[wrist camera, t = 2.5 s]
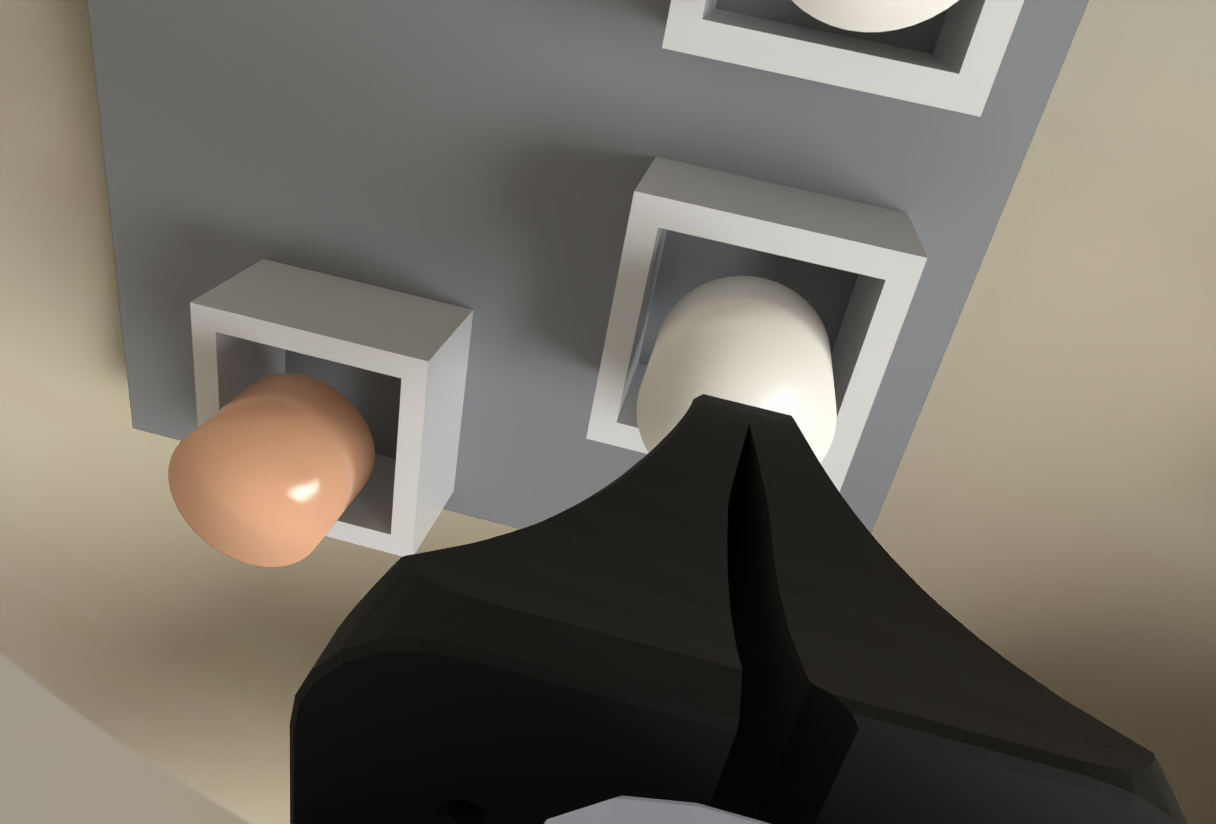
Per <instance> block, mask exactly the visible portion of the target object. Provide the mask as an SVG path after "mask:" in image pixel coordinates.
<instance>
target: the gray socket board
mask: <svg viewBox="0 0 1216 824" xmlns="http://www.w3.org/2000/svg"><path fill="white" fill-rule="evenodd" d="M1088 1H1089V0H959V1H957V2H956V3H955V4H953V5H952V6H950V7H949V8H948V9H946V10H944V11H942V12H941V13H939V14H937V15H935V16H934V17H932V18H930V19H927V20H925V21H923V22H920V23H918V24H915V25H912V26H909V27H905V28H901V29H898V30H892V31H884V32H858V31H850V30H845V29H841V28H838V27H834V26H831V25H829V24H826V23H824V22H822V21H820V20H818V19H816V18H814V17H812V16H811V15H809V14H808V13H806V12H805V11H803V10H802V9H801V8H799V7H798V6H797V5H796V4H795V3H794V2H793V1H791V0H87V3H88V13H89V22H90V31H91V41H92V50H93V60H94V69H95V78H96V88H97V97H98V106H99V116H100V125H101V135H102V144H103V153H104V163H105V172H106V182H107V191H108V200H109V210H110V219H111V228H112V238H113V247H114V257H115V266H116V275H117V285H118V294H119V304H120V313H121V322H122V332H123V341H124V350H125V360H126V369H127V379H128V388H129V397H130V407H131V416H132V426H133V428H135V429H138V430H142V431H146V432H150V433H154V434H158V435H162V436H165V437H169V438H173V439H177V440H181V441H182V440H184V439H185V438H186V437H187V436H188V435H190V434H191V433H192V432H193V431H195V430H196V429H197V428H198V427H200V426H201V425H202V424H203V423H204V422H206V421H207V420H208V419H209V418H211V417H212V416H213V415H214V414H216V413H217V412H218V411H219V410H220V409H222V408H223V407H224V406H225V405H227V404H228V403H229V402H230V401H232V400H233V399H234V398H235V397H237V396H238V395H239V394H240V393H241V392H243V391H244V390H245V389H246V388H248V387H249V386H250V385H251V384H253V383H254V382H255V381H257V380H259V379H261V378H263V377H266V376H268V375H272V374H277V373H295V374H301V375H306V376H309V377H312V378H315V379H317V380H320V381H322V382H324V383H326V384H328V385H329V386H331V387H333V388H334V389H336V390H337V391H339V392H340V393H341V394H343V395H344V396H345V397H346V398H347V399H348V400H349V401H350V402H351V403H352V404H353V405H354V406H355V407H356V408H357V410H358V411H359V412H360V414H361V415H362V417H363V418H364V420H365V422H366V423H367V425H368V428H369V430H370V432H371V435H372V438H373V442H374V448H375V462H374V468H373V471H372V474H371V476H370V478H369V480H368V482H367V483H366V484H365V486H364V487H363V488H362V490H361V491H360V492H359V493H358V495H357V496H356V497H355V498H354V500H353V501H352V502H351V503H350V505H349V506H348V507H347V509H346V510H345V511H344V512H343V514H342V515H341V516H340V517H339V519H338V520H337V521H336V522H335V524H334V525H333V526H332V528H331V529H330V530H329V531H328V533H327V534H326V535H325V536H327V537H331V538H335V539H338V540H342V541H346V542H350V543H354V544H357V545H361V546H365V547H369V548H372V549H376V550H380V551H384V552H387V553H391V554H395V555H399V556H405V555H413V554H415V553H416V551H417V550H418V548H419V546H420V545H421V543H422V541H423V540H424V538H425V537H426V535H427V533H428V532H429V530H430V529H431V527H432V525H433V524H434V522H435V520H436V519H437V517H438V516H439V514H440V512H441V511H442V509H446V510H450V511H453V512H457V513H461V514H465V515H469V516H473V517H477V518H480V519H484V520H488V521H492V522H496V523H500V524H503V525H507V526H511V527H515V528H519V529H522V528H525V527H528V526H531V525H534V524H536V523H539V522H542V521H544V520H546V519H548V518H550V517H552V516H555V515H557V514H559V513H561V512H563V511H565V510H567V509H569V508H570V507H572V506H574V505H576V504H578V503H580V502H582V501H583V500H585V499H587V498H588V497H590V496H592V495H593V494H595V493H597V492H598V491H600V490H601V489H603V488H604V487H606V486H607V485H609V484H610V483H612V482H613V481H614V480H616V479H617V478H619V477H620V476H621V475H623V474H624V473H625V472H626V471H628V470H629V469H630V468H631V467H632V466H634V465H635V464H636V463H637V462H639V461H640V460H641V459H642V458H643V457H645V456H646V455H647V454H648V451H647V449H646V447H645V445H644V443H643V441H642V438H641V435H640V432H639V428H638V422H637V400H638V394H639V390H640V387H641V384H642V381H643V378H644V375H645V372H646V369H647V366H648V363H649V360H650V357H651V354H652V351H653V348H654V345H655V342H656V339H657V337H658V334H659V331H660V328H661V326H662V324H663V321H664V319H665V318H666V316H667V315H668V313H669V311H670V310H671V309H672V308H673V306H674V305H675V304H676V303H677V302H678V301H679V300H680V299H681V298H682V297H683V296H685V295H686V294H687V293H689V292H690V291H692V290H693V289H695V288H696V287H698V286H700V285H702V284H704V283H707V282H710V281H713V280H715V279H719V278H724V277H730V276H754V277H760V278H765V279H769V280H772V281H775V282H778V283H780V284H782V285H784V286H787V287H788V288H790V289H792V290H793V291H795V292H796V293H798V294H799V295H800V296H801V297H803V298H804V299H805V300H806V301H807V302H808V303H809V304H810V305H811V306H812V307H813V308H814V310H815V311H816V313H817V314H818V315H819V317H820V319H821V321H822V323H823V325H824V326H825V329H826V332H827V335H828V338H829V344H830V350H831V360H832V370H833V379H834V389H835V399H836V412H837V421H836V430H835V434H834V437H833V441H832V444H831V446H830V448H829V450H828V453H827V454H826V456H825V457H824V459H823V461H822V462H821V465H822V467H823V468H824V470H825V471H826V473H827V474H828V476H829V477H830V479H831V480H832V482H833V483H834V485H835V486H836V488H837V489H838V491H839V492H840V494H841V495H842V497H843V498H844V499H845V501H846V502H847V503H848V505H849V506H850V508H851V509H852V510H853V512H854V513H855V514H856V515H857V517H858V518H859V519H860V520H861V522H862V523H863V524H864V526H865V527H866V528H867V529H868V531H869V532H870V533H871V532H872V529H873V527H874V525H875V522H876V520H877V517H878V515H879V512H880V510H881V507H882V505H883V503H884V500H885V498H886V495H887V493H888V490H889V488H890V485H891V483H892V481H893V478H894V476H895V473H896V471H897V468H898V466H899V463H900V461H901V459H902V456H903V454H904V451H905V449H906V446H907V444H908V441H909V439H910V437H911V434H912V432H913V429H914V427H915V424H916V422H917V419H918V417H919V415H920V412H921V410H922V407H923V405H924V402H925V400H926V397H927V395H928V393H929V390H930V388H931V385H932V383H933V380H934V378H935V375H936V373H937V371H938V368H939V366H940V363H941V361H942V358H943V356H944V353H945V351H946V349H947V346H948V344H949V341H950V339H951V336H952V334H953V331H954V329H955V327H956V324H957V322H958V319H959V317H960V314H961V312H962V309H963V307H964V304H965V302H966V300H967V297H968V295H969V292H970V290H971V287H972V285H973V282H974V280H975V278H976V275H977V273H978V270H979V268H980V265H981V263H982V260H983V258H984V256H985V253H986V251H987V248H988V246H989V243H990V241H991V238H992V236H993V234H994V231H995V229H996V226H997V224H998V221H999V219H1000V216H1001V214H1002V212H1003V209H1004V207H1005V204H1006V202H1007V199H1008V197H1009V194H1010V192H1011V190H1012V187H1013V185H1014V182H1015V180H1016V177H1017V175H1018V172H1019V170H1020V168H1021V165H1022V163H1023V160H1024V158H1025V155H1026V153H1027V150H1028V148H1029V146H1030V143H1031V141H1032V138H1033V136H1034V133H1035V131H1036V128H1037V126H1038V124H1039V121H1040V119H1041V116H1042V114H1043V111H1044V109H1045V106H1046V104H1047V102H1048V99H1049V97H1050V94H1051V92H1052V89H1053V87H1054V84H1055V82H1056V79H1057V77H1058V75H1059V72H1060V70H1061V67H1062V65H1063V62H1064V60H1065V57H1066V55H1067V53H1068V50H1069V48H1070V45H1071V43H1072V40H1073V38H1074V35H1075V33H1076V31H1077V28H1078V26H1079V23H1080V21H1081V18H1082V16H1083V13H1084V11H1085V9H1086V6H1087V4H1088Z"/></svg>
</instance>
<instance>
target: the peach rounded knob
mask: <svg viewBox="0 0 1216 824" xmlns="http://www.w3.org/2000/svg"><path fill="white" fill-rule="evenodd" d="M374 462H375V448H374V442H373V438H372V435H371V432H370V430H369V428H368V425H367V423H366V422H365V420H364V418H363V417H362V415H361V414H360V412H359V411H358V410H357V408H356V407H355V406H354V405H353V404H352V403H351V402H350V401H349V400H348V399H347V398H346V397H345V396H344V395H343V394H341V393H340V392H339V391H337V390H336V389H334V388H333V387H331V386H329V385H328V384H326V383H324V382H322V381H320V380H317V379H315V378H312V377H309V376H306V375H301V374H295V373H277V374H272V375H268V376H266V377H263V378H261V379H259V380H257V381H255V382H254V383H253V384H251V385H250V386H249V387H248V388H246V389H245V390H244V391H243V392H241V393H240V394H239V395H238V396H237V397H235V398H234V399H233V400H232V401H230V402H229V403H228V404H227V405H225V406H224V407H223V408H222V409H220V410H219V411H218V412H217V413H216V414H214V415H213V416H212V417H211V418H209V419H208V420H207V421H206V422H204V423H203V424H202V425H201V426H200V427H198V428H197V429H196V430H195V431H193V432H192V433H191V434H190V435H188V436H187V437H186V438H185V439H184V440H182V441H181V442H180V444H179V445H178V446H177V447H176V449H175V451H174V452H173V454H172V457H171V460H170V464H169V471H168V473H169V485H170V490H171V493H172V497H173V499H174V502H175V504H176V506H177V508H178V510H179V512H180V513H181V515H182V516H183V518H184V519H185V521H186V522H187V524H188V525H189V526H190V527H191V528H192V529H193V530H194V532H195V533H197V534H198V535H199V536H200V537H201V538H202V539H203V540H204V541H205V542H207V543H208V544H209V545H210V546H212V547H213V548H215V549H216V550H218V551H219V552H221V553H223V554H225V555H227V556H229V557H231V558H233V559H236V560H238V561H241V562H244V563H247V564H251V565H256V566H263V567H280V566H286V565H290V564H294V563H296V562H298V561H300V560H302V559H304V558H305V557H307V556H308V555H309V554H310V553H311V552H312V551H313V550H314V549H315V548H316V547H317V545H318V544H319V543H320V541H321V540H322V539H323V538H324V536H325V535H326V534H327V533H328V531H329V530H330V529H331V528H332V526H333V525H334V524H335V522H336V521H337V520H338V519H339V517H340V516H341V515H342V514H343V512H344V511H345V510H346V509H347V507H348V506H349V505H350V503H351V502H352V501H353V500H354V498H355V497H356V496H357V495H358V493H359V492H360V491H361V490H362V488H363V487H364V486H365V484H366V483H367V482H368V480H369V478H370V476H371V474H372V471H373V468H374Z"/></svg>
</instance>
